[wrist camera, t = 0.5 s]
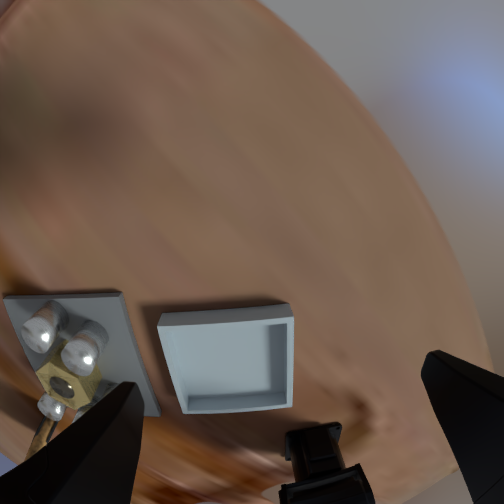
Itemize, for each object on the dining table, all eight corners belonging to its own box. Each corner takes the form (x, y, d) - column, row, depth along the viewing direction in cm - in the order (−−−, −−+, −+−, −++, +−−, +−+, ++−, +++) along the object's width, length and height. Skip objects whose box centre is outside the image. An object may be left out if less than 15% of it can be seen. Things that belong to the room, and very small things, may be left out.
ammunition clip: (48, 438, 29) (23, 496, 17) (38, 431, 28) (12, 488, 17) (62, 414, 26) (30, 485, 15) (50, 405, 26) (15, 475, 15)
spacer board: (161, 411, 26) (160, 416, 25) (55, 399, 25) (53, 404, 25) (122, 292, 21) (118, 296, 21) (6, 295, 21) (2, 299, 20)
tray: (288, 392, 26) (292, 406, 24) (185, 399, 25) (183, 413, 24) (289, 303, 23) (293, 316, 21) (162, 312, 22) (156, 326, 20)
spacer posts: (141, 415, 25) (133, 444, 21) (65, 406, 25) (53, 430, 21) (96, 298, 21) (75, 325, 17) (15, 300, 20) (-8, 320, 16)
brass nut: (107, 387, 24) (96, 413, 20) (67, 383, 24) (55, 406, 20) (87, 340, 22) (70, 365, 18) (46, 337, 22) (28, 359, 18)
